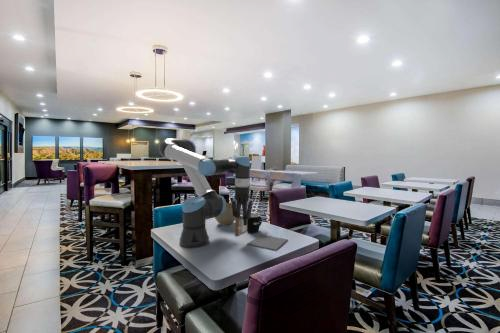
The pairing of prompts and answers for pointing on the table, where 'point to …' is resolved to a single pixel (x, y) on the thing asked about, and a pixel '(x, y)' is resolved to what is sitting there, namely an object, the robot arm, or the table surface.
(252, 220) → the mug
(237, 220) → the tile
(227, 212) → the flower pot
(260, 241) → the mat
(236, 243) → the table surface
